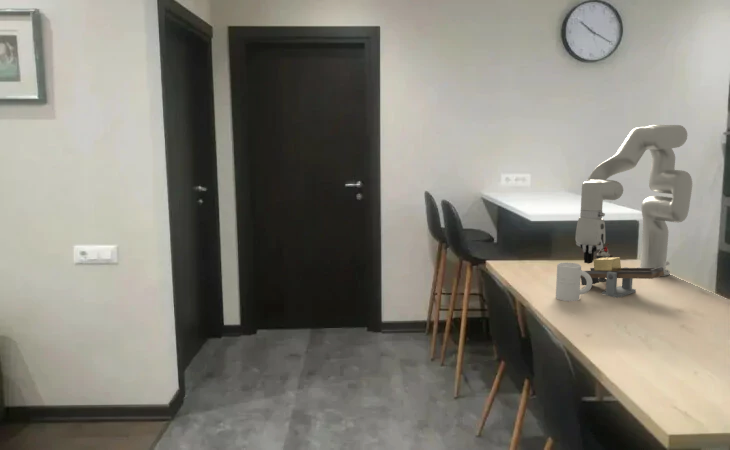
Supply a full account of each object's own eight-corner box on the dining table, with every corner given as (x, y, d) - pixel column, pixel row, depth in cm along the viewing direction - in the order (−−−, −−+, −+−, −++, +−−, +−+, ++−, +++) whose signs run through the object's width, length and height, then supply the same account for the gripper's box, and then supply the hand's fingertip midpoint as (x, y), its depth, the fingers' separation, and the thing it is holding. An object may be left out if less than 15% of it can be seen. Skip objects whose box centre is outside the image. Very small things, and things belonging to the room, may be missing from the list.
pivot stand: (620, 288, 231) (621, 266, 229) (635, 291, 226) (637, 269, 225) (601, 294, 223) (603, 271, 222) (617, 297, 218) (618, 274, 217)
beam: (592, 282, 237) (591, 266, 237) (664, 283, 215) (663, 266, 215) (580, 285, 232) (578, 269, 232) (653, 287, 210) (651, 269, 210)
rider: (603, 270, 232) (602, 257, 232) (621, 271, 226) (619, 257, 226) (594, 273, 228) (593, 259, 228) (612, 273, 223) (610, 259, 222)
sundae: (608, 283, 238) (610, 245, 236) (590, 280, 242) (593, 243, 240) (613, 279, 243) (615, 242, 241) (596, 277, 247) (598, 240, 245)
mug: (592, 303, 212) (593, 269, 210) (555, 300, 216) (557, 266, 214) (590, 296, 220) (592, 263, 218) (555, 294, 223) (557, 261, 222)
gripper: (615, 215, 227) (612, 264, 230) (579, 211, 238) (576, 258, 241) (603, 217, 222) (600, 267, 225) (567, 213, 234) (565, 260, 237)
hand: (588, 262), depth 233 cm, fingers closed
